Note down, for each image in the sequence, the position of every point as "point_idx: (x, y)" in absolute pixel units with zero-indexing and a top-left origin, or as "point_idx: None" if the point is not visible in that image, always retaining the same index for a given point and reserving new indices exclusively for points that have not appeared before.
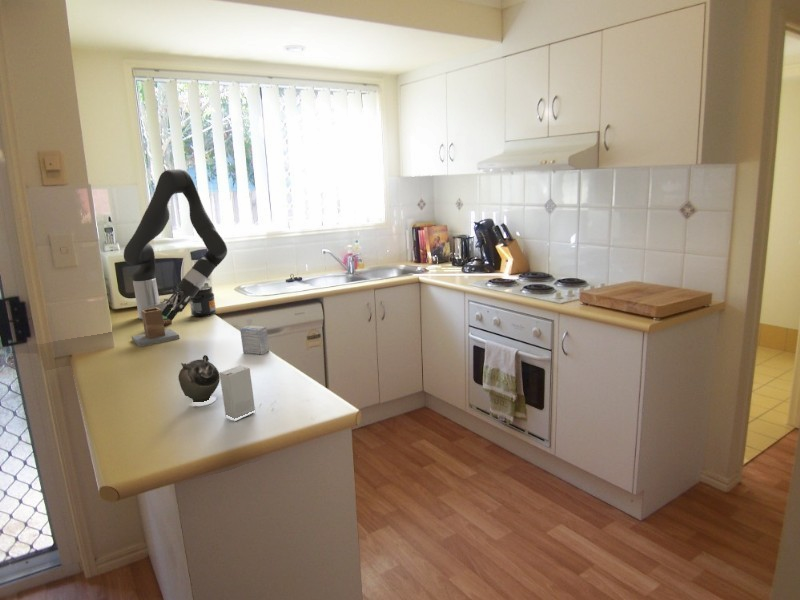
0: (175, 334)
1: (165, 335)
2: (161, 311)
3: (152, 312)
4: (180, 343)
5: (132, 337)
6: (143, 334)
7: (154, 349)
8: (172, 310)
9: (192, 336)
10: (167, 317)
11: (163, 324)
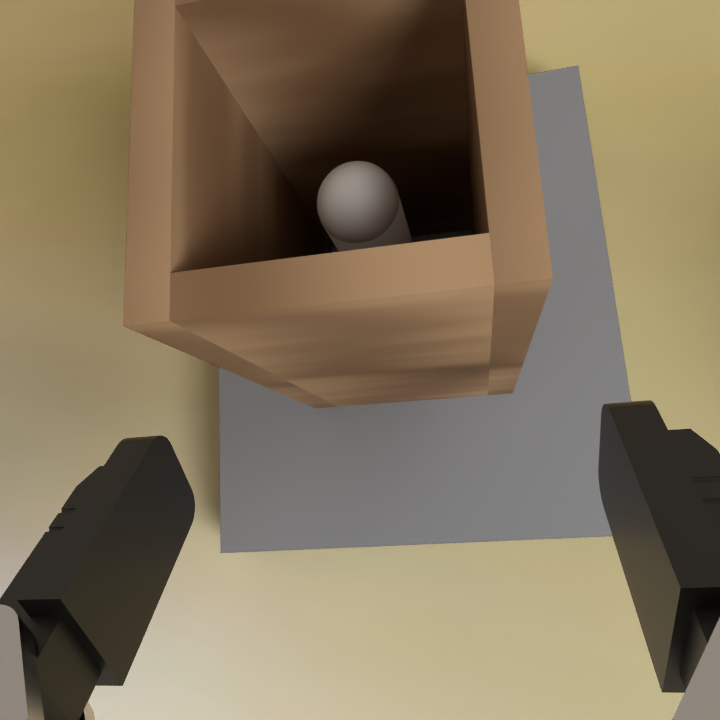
0: (261, 520)
1: (311, 408)
2: (148, 334)
3: (144, 138)
4: (47, 505)
5: (529, 75)
6: (580, 189)
7: (51, 261)
8: (34, 580)
9: (212, 701)
10: (125, 441)
11: (265, 384)
